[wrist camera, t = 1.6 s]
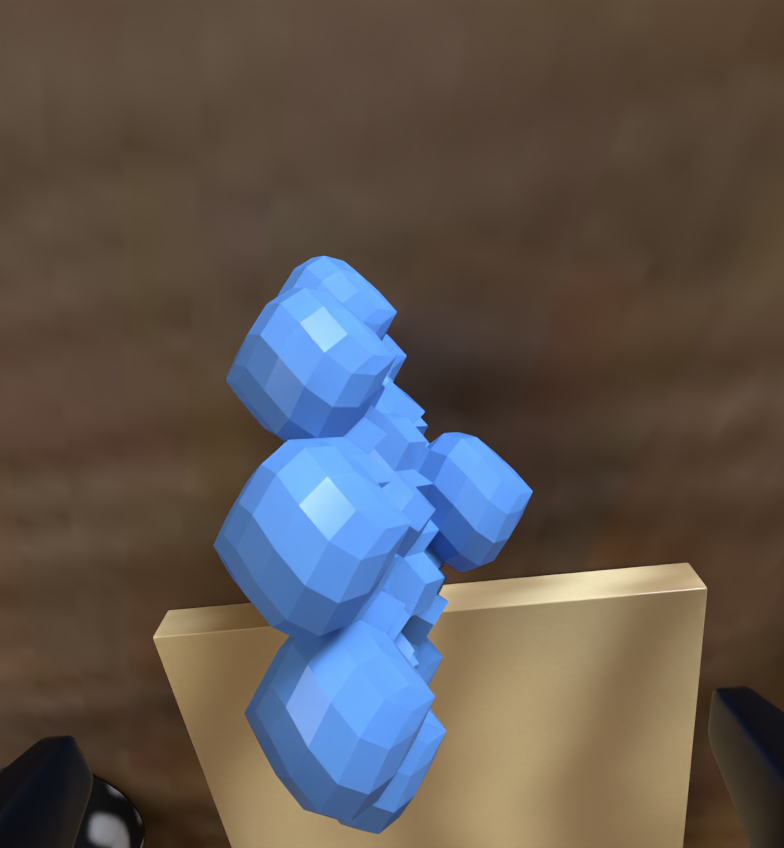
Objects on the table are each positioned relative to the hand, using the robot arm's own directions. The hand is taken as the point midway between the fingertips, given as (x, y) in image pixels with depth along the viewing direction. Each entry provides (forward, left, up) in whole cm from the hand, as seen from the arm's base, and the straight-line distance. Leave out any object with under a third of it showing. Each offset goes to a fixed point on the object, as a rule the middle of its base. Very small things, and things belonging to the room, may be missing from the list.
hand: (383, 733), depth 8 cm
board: (0, +15, -12) cm, 19 cm away
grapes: (0, 0, -12) cm, 12 cm away
